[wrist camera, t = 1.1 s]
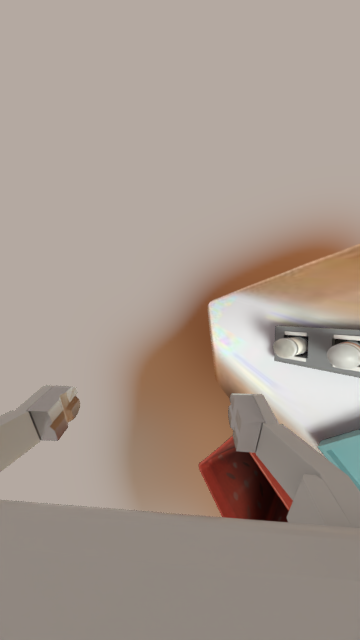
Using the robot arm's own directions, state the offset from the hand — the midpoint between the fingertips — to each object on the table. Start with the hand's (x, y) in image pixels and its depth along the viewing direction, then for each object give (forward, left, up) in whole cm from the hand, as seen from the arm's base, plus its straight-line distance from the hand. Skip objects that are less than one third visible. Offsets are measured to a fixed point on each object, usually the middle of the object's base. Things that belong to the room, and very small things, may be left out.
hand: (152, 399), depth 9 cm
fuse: (+5, -3, -45) cm, 45 cm away
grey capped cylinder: (-1, +3, -45) cm, 45 cm away
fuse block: (+2, 0, -45) cm, 45 cm away
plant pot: (+31, +16, -45) cm, 57 cm away
